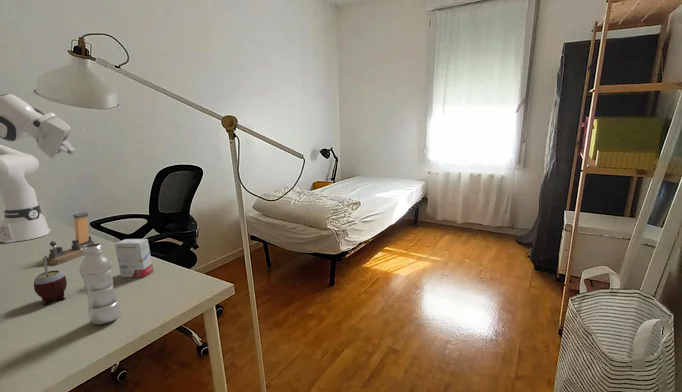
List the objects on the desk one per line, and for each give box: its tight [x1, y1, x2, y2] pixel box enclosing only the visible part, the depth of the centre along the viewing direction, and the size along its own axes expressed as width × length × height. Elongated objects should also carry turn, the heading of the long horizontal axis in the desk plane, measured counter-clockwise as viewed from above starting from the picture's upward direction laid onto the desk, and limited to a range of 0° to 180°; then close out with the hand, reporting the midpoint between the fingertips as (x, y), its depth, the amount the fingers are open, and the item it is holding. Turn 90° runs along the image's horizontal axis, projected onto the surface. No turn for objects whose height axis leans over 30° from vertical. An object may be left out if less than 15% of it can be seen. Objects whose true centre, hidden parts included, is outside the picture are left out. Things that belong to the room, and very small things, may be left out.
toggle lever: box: [49, 240, 57, 251], centre depth 125 cm, size 2×2×4 cm
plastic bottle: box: [79, 242, 121, 326], centre depth 82 cm, size 6×7×20 cm
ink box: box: [114, 238, 154, 278], centre depth 110 cm, size 9×5×12 cm, turn 84°
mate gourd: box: [33, 255, 68, 306], centre depth 94 cm, size 8×8×15 cm
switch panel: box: [42, 235, 95, 266], centre depth 130 cm, size 7×16×6 cm, turn 167°
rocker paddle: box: [72, 211, 90, 244], centre depth 133 cm, size 2×4×12 cm, turn 167°
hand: (73, 152), depth 136 cm, fingers closed
